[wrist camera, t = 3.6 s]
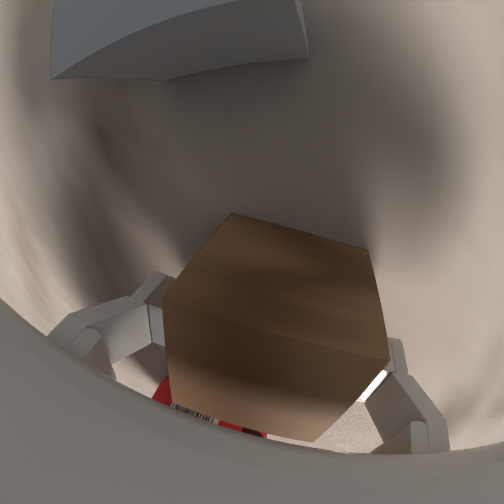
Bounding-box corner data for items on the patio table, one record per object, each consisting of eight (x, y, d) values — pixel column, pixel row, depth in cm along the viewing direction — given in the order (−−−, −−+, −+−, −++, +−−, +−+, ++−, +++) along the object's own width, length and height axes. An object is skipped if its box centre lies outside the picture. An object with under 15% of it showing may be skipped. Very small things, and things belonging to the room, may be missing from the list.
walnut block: (367, 249, 9) (390, 360, 5) (323, 342, 12) (312, 442, 7) (232, 212, 10) (161, 297, 5) (218, 313, 12) (172, 402, 8)
